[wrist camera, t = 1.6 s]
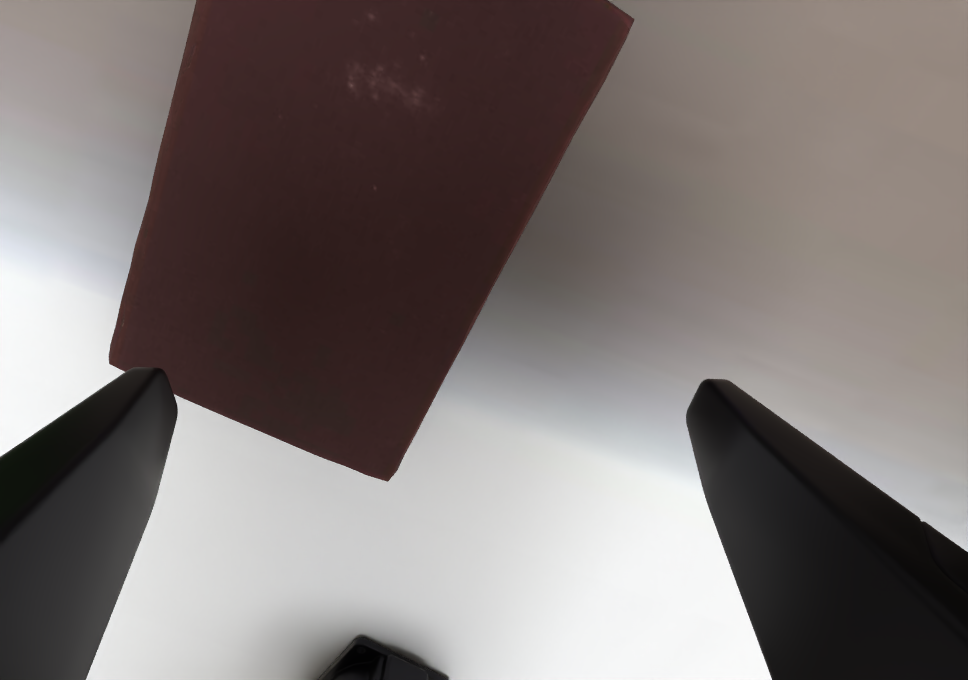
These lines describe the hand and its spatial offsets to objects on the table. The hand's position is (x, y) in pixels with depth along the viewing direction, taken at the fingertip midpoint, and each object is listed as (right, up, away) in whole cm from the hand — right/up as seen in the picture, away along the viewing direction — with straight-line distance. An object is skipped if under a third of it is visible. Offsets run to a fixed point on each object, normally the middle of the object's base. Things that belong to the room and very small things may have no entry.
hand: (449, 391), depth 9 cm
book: (-4, +7, +12) cm, 15 cm away
